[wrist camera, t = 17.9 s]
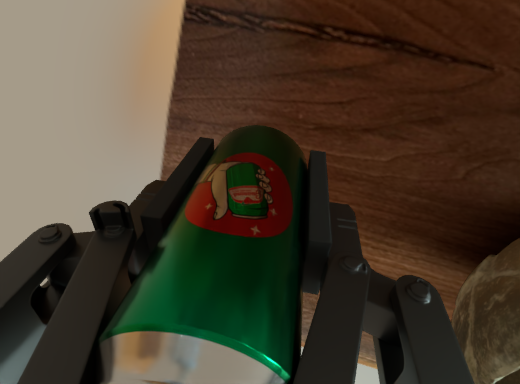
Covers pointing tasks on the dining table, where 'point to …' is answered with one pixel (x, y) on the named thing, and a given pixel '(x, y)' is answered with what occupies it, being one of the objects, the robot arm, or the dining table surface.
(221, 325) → the soda can
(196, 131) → the dining table surface
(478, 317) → the bowl
